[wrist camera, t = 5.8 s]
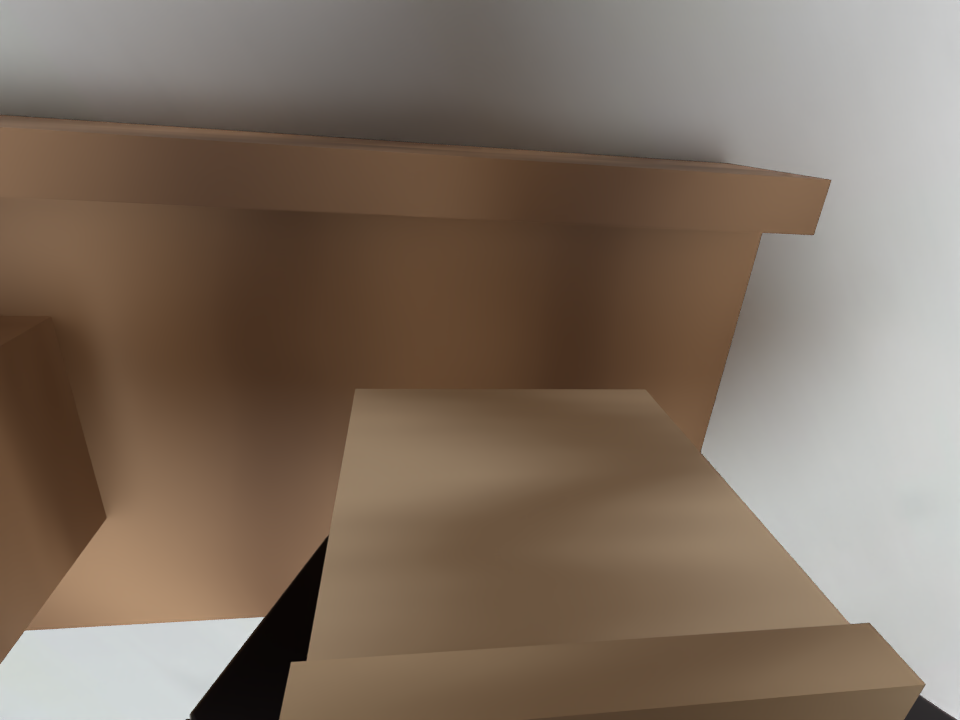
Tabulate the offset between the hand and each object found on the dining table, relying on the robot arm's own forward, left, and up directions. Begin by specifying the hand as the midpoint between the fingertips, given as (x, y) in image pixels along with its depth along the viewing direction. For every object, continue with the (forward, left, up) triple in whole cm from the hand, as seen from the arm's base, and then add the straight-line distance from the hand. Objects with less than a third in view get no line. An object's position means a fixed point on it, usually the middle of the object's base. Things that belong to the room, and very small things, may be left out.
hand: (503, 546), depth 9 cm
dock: (+4, 0, -6) cm, 7 cm away
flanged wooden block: (0, 0, -1) cm, 1 cm away
